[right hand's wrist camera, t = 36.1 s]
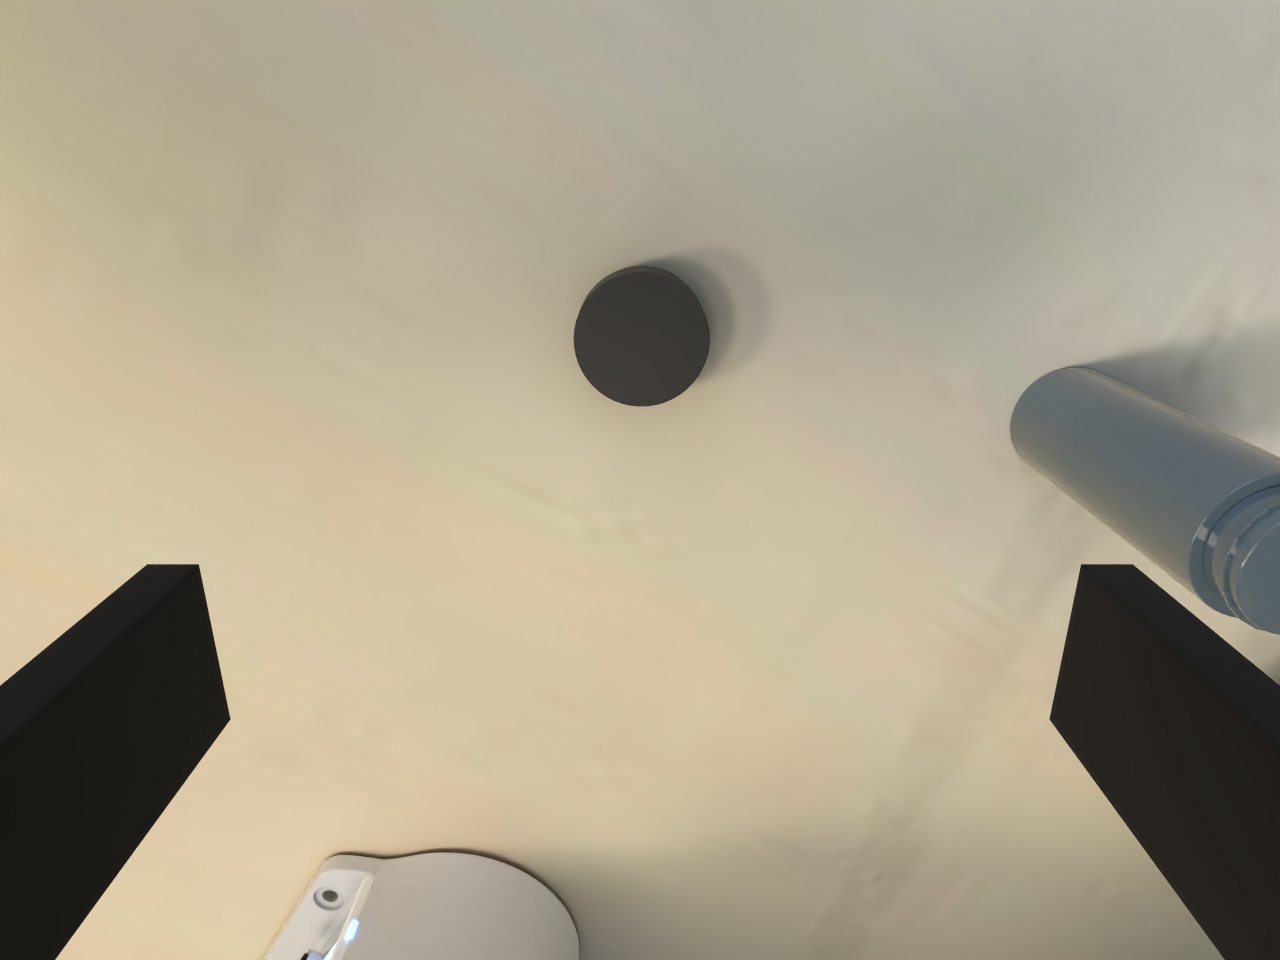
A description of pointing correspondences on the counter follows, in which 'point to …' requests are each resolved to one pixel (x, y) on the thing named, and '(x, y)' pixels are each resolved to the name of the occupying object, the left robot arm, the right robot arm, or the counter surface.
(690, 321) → the lid
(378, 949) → the left robot arm
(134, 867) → the counter surface
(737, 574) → the counter surface
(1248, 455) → the jar
